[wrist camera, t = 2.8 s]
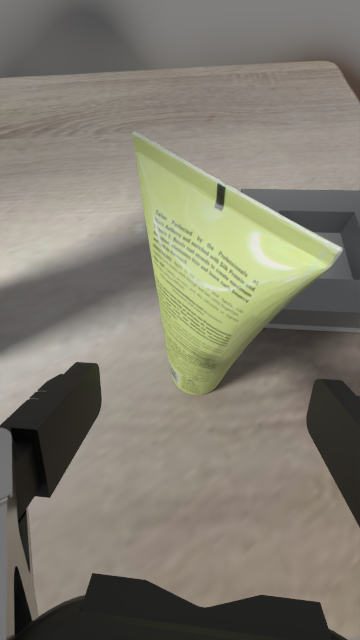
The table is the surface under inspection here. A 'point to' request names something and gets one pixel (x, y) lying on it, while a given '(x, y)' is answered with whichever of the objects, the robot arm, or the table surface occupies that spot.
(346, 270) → the holder
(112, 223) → the table surface
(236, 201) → the tube
